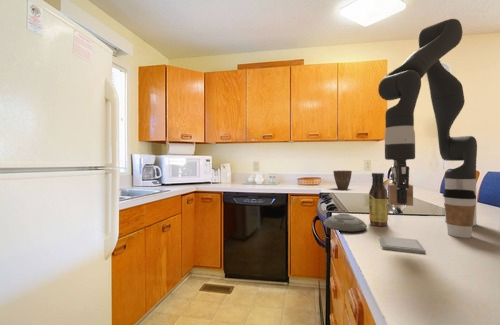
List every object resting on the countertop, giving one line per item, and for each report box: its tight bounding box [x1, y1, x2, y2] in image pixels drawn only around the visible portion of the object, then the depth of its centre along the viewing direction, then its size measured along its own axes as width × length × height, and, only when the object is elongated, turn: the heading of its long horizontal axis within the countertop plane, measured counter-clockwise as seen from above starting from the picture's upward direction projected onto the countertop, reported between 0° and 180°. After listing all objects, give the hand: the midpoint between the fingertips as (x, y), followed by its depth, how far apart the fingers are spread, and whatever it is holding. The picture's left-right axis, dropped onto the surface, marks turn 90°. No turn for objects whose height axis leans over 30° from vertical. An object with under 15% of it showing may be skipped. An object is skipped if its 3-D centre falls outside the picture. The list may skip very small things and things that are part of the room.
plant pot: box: [332, 170, 353, 191], centre depth 214 cm, size 15×15×16 cm
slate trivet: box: [379, 235, 426, 255], centre depth 72 cm, size 10×10×1 cm
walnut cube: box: [387, 183, 414, 207], centre depth 72 cm, size 6×6×6 cm
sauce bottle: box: [368, 172, 389, 227], centre depth 96 cm, size 7×6×20 cm
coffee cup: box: [442, 188, 477, 239], centre depth 81 cm, size 8×8×15 cm
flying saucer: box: [322, 213, 368, 233], centre depth 92 cm, size 15×15×6 cm
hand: (400, 201), depth 72 cm, fingers closed on walnut cube, 5 cm apart
